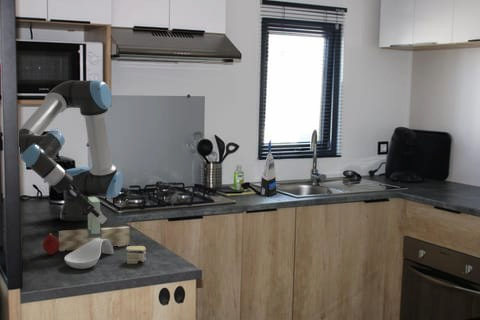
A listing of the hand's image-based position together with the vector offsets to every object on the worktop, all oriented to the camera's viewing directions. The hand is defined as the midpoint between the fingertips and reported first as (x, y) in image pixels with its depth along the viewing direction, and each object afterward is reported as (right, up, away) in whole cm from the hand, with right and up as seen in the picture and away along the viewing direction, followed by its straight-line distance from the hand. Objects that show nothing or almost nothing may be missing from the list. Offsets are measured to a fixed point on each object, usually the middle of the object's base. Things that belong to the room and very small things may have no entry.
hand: (102, 218), depth 239 cm
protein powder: (+69, +3, +125) cm, 142 cm away
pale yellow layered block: (+16, -14, -18) cm, 28 cm away
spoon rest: (0, -14, -18) cm, 23 cm away
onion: (-16, -12, -10) cm, 23 cm away
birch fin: (-3, -11, +1) cm, 11 cm away
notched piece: (-3, -4, -1) cm, 5 cm away
